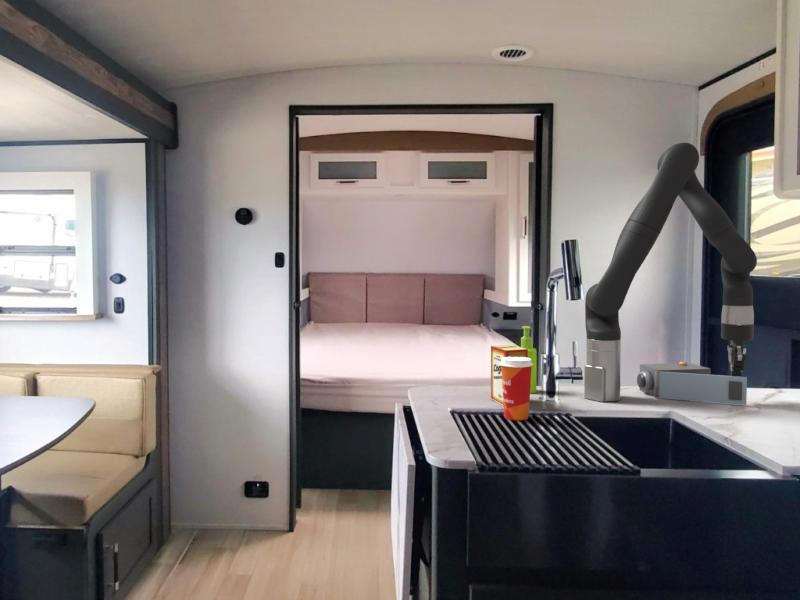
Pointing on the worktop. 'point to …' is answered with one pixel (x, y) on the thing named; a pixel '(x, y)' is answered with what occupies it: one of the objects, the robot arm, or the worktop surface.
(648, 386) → the camera housing
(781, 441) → the worktop surface
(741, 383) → the side door
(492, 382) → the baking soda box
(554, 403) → the worktop surface
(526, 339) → the soap dispenser
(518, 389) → the coffee cup
